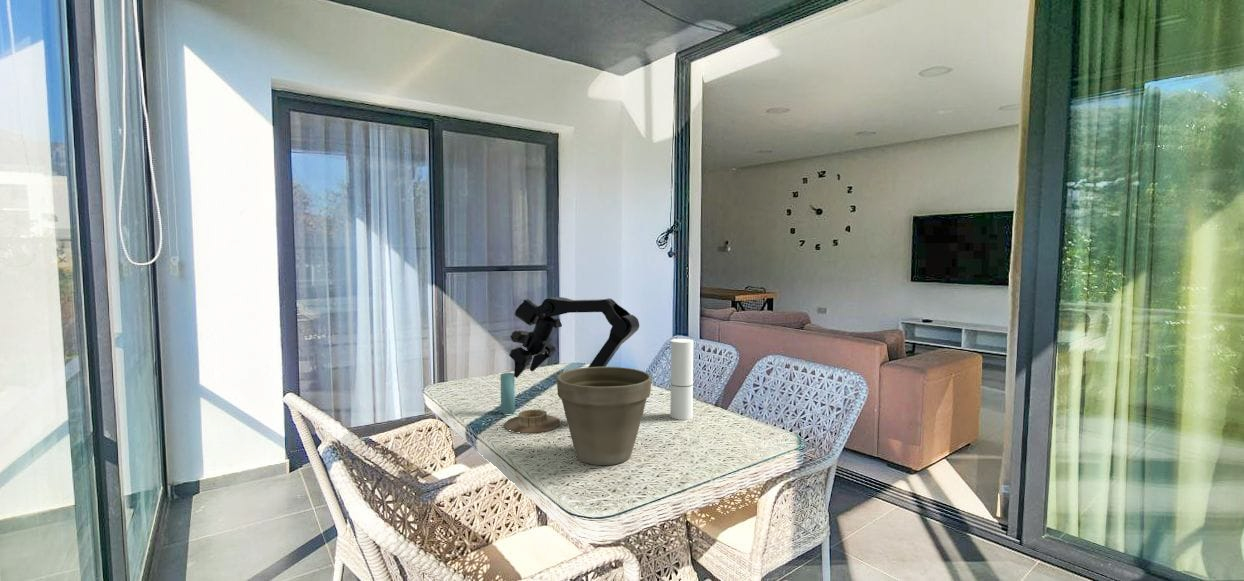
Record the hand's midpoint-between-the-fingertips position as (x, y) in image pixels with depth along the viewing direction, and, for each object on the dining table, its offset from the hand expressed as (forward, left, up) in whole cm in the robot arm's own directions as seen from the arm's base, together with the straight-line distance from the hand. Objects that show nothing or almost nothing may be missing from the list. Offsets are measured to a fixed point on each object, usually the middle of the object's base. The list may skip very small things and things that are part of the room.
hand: (523, 373), depth 184 cm
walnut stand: (-8, +7, -14) cm, 17 cm away
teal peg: (+6, 0, -14) cm, 15 cm away
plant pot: (-39, +21, -14) cm, 46 cm away
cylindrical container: (-48, -19, -14) cm, 53 cm away
